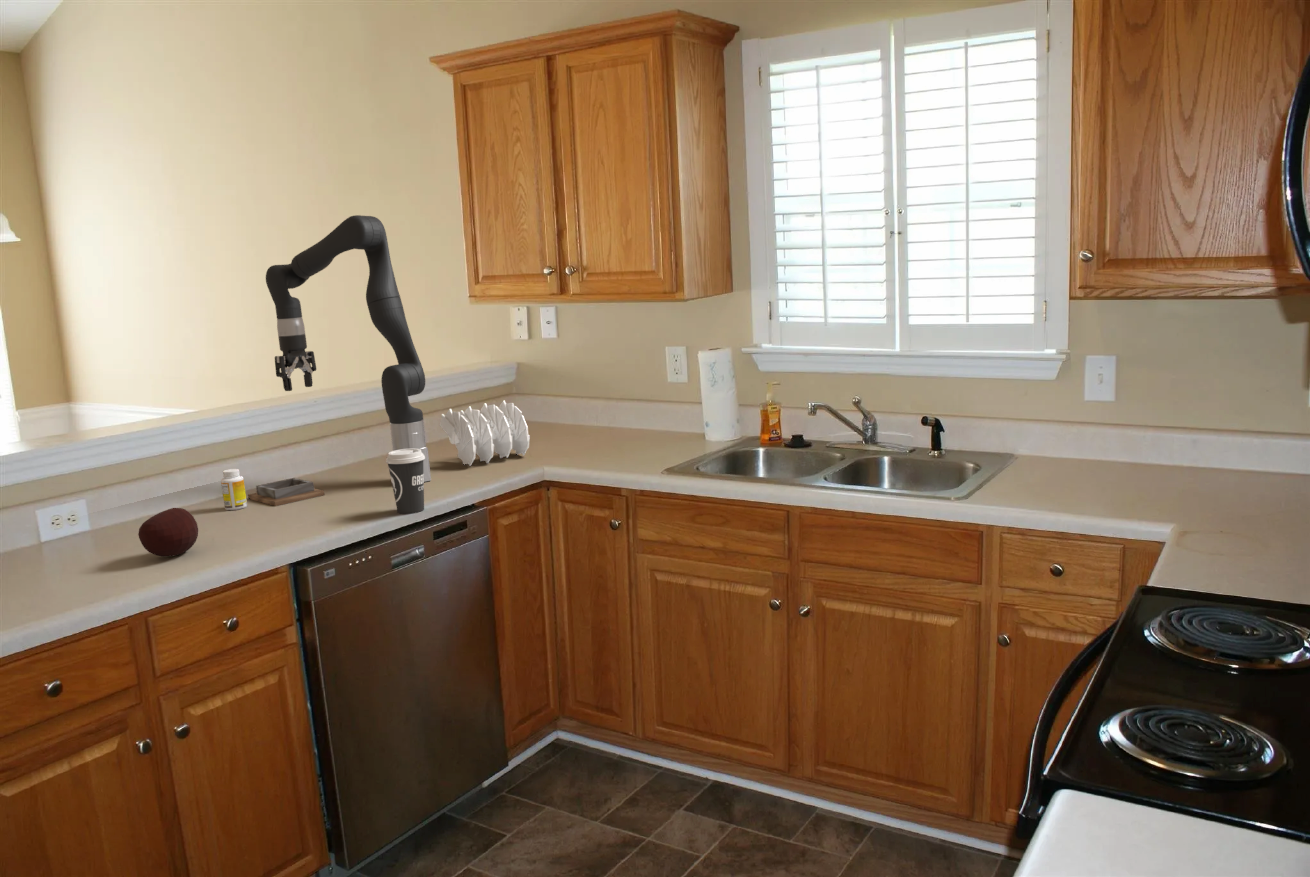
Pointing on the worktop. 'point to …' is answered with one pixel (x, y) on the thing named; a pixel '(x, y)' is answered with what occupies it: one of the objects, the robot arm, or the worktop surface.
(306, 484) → the holder
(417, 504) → the coffee cup
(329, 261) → the robot arm
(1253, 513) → the worktop surface
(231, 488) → the supplement bottle
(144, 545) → the potato
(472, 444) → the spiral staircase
